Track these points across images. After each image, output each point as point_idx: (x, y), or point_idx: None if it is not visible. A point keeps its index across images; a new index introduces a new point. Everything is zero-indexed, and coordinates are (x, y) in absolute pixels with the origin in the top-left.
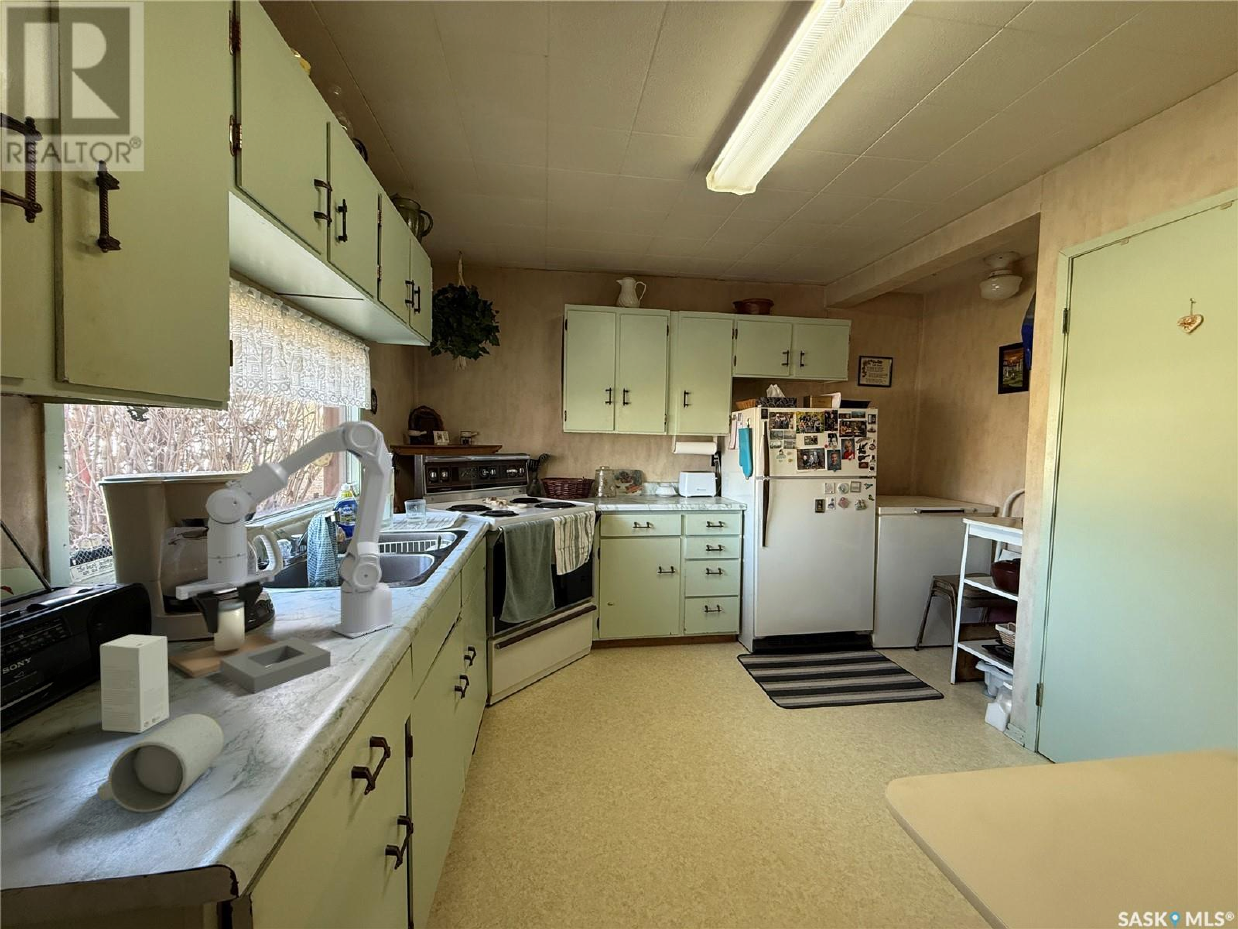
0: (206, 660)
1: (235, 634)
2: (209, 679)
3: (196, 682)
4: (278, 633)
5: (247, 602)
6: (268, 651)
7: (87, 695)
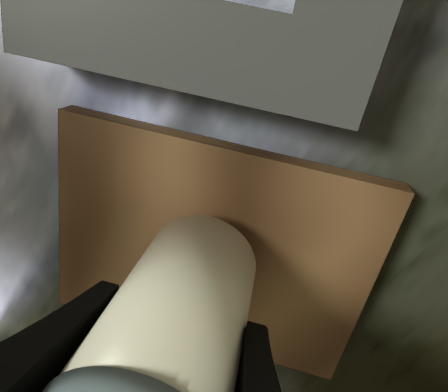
0: (307, 249)
1: (192, 253)
2: (402, 107)
3: (442, 130)
4: (13, 262)
5: (17, 388)
6: None
7: None
